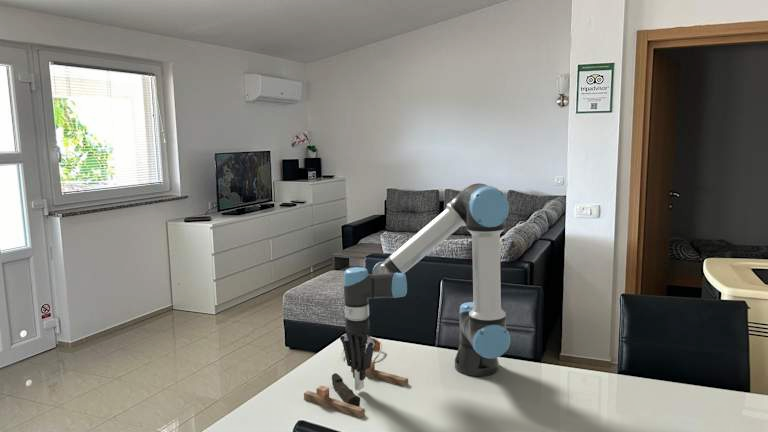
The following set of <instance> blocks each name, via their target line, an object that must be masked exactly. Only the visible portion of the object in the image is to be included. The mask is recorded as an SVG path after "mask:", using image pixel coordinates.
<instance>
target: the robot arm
mask: <svg viewBox="0 0 768 432" xmlns="http://www.w3.org/2000/svg"><path fill="white" fill-rule="evenodd" d="M509 211H510V204H509V201H508V198H507V196H506V195H505V194H504V193H503V192H502V191H501V190H500V189H499V188H496V187H494V186H491V185H487V184H485V183H477V182H476V183H473V184H471V185H468V186H467V187H466V188H463V190H461V191H460V192H458V194H457V195H456V196H454V197H453V198H452V199H451V200H450V201H449V202H448V203H447V204H446V208H445V209H444V210H443V211H442V212H440V213H439V215H437V216H436V217H435V218H434V219H432V220H431V221H430V222H429V223H427V224H426V225H425V226H424V227H422V229H420V230H419V231H418V232H416V234H414V235H413V236H411V238H410V239H408V241H406V242H405V243H404V244H402V245H401V246H400V247H399V248H397V249H396V251H394V252H393V253H392V254H390V255H389V256H388V257H386V258H385V259H384V260H383V261H379V262H377V263H376V264H375V265H374V266H373V268H372V274H371V273H369V271H368V269H367V268H365V267H360V266H359V267H358V266H355V267H349V268H347V269H345V271H344V273H343V295H344V296H343V297H344V317H345V320H344V323H345V325H344V326H345V330H346V332H345V333H344V334H342V335H341V336H340V337H339V340H340V342H341V343H342V346H343V349H344V356H345V360H346V365H347V366H348V367H350V368H351V367H352V369H353V372H352V377H353V379H354V390H355V391H360V390H362V389H364V388H365V383H364V382H365V381H364V380H366V376H365V370H367V369H368V368H370V366H371V361H372V360H373V354H374V347H375V345H376V341H372V340H371V339H370V337H371V335H370V333H369V330H370V317H369V316H370V304H369V300H370V299H389V298H390V299H392V298H393V299H396V298H403V297H405V296H406V295H407V293H408V282H407V276H406V272H408V271H409V270H410V269H411V268H413V267H414V266H415V265H416V264H417V263H419V262H420V261H421V260H422V259H423V258H425V257H426V256H427V255H428V254H429V253H431V252H432V251H433V250H434V249H436V248H437V247H438V246H439V245H440V244H441V243H442V242H444V241H445V240H446V239H447V238H448V237H449V238H450V236H451V235H452V234H454V233H455V232H456V231H457V230H458V229H459V228H460V227H466V230H467V231H468V232H469V233H470V234H471V245H472V247H471V248H472V249H471V250H472V290H473V292H472V295H473V296H472V299H473V301H467V302H463V303H462V304H460V306H459V313H458V314H459V347H458V350H457V353H456V355H455V359H454V369H455V370H456V371H457V372H459V373H461V374H463V375H467V376H473V377H474V376H475V377H485V376H490V375H494V374H495V373H497V372H498V371H499V367H500V366H499V364H500V362H499V359H498V358H499V357H501V356H503V355H504V354H505V353H506V352H507V351H508V349H509V348H510V345H511V336H510V332H509V330H508V329H507V316H506V315H507V314H506V311H504V309H502V303H501V302H502V301H501V300H502V298H501V294H502V293H501V291H502V290H501V287H502V286H501V234H502V233H503V232H504V231H505V228H506V223H505V221H506V219H507V217H508V215H509ZM366 343H367V344H366Z"/></svg>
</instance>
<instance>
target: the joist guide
mask: <svg viewBox="0 0 768 432" xmlns="http://www.w3.org/2000/svg"><path fill="white" fill-rule="evenodd" d="M373 360H374V359H372V361H371V366H370V368H368V369H367V370H365V377H369V378H373V379H376V380H380V381H385V382H386V383H391V384H394V385H398V386H401V387H407V386H408V385H409V378H407V377H404V376H400V375H396V374H392V373H390V372H385V371H381V370H377V369H376V367H375V366H376V365H375V364H376V363H375V361H376V360H375V361H373ZM350 372H351V373H353V369H352V367H351V366H350ZM315 389H316V392H313V391H311V390H306V391H305V392H303V400H307V401H309V402H312V403H315V404H318V405H321V406H324V407H327V408H329V409H333V410H336V411H339V412H343V413H345V414H347V415H351V416H353V417H357V418H359V419H360V418H363V417H365V415H366V412H365V411H366V410H365V408H363V407H361V406H359V407H358V406H355V405H352V404H349V403H346V401H342V400H339V399H336V398H333V397H330V387H329V386H328V387H327V386H326V385H320V386H318V387H316V388H315Z"/></svg>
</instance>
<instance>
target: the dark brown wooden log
mask: <svg viewBox="0 0 768 432" xmlns="http://www.w3.org/2000/svg"><path fill="white" fill-rule="evenodd" d="M331 381H332V382H331V383H332V386H333V387H332V388H333V389H334V391H335V392H336V391H337V392H336V393H338V394H339V395H340V396H341V398H342V400H343V402H345V403H349V404H352V405H355V406H358V407H360V405H361V397H360V396H358V395H356V394H355V393H354V391H353V389H350V387H348V385H347V384H345V382H344V380H343V377H341V375H340V374H338V373H336V372H335V373H333V374H332V375H331Z"/></svg>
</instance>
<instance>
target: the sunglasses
mask: <svg viewBox="0 0 768 432" xmlns="http://www.w3.org/2000/svg"><path fill="white" fill-rule="evenodd" d="M370 339H371V340H372V341H376V345H375V347H374V350H375V351H377V352H378V353H377V355H376V356H375V358H374V359H372V360H373V361H376V359H377V358H378V357H379V356H380V354H381V351H382V349H383V344H382V342H381V341H380V340H379V339H378V338H376V337H373V336H370ZM366 345H367V343H366ZM374 350H373V351H374ZM341 353H342V354H341V356H342V361H343V362H345V359H344V354H345V352H344V348H343V349H342V352H341Z"/></svg>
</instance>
